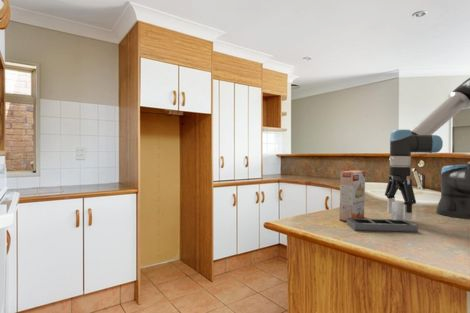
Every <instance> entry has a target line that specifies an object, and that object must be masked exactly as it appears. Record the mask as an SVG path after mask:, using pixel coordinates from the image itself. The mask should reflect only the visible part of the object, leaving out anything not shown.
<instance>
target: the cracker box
mask: <svg viewBox="0 0 470 313" xmlns="http://www.w3.org/2000/svg"><path fill="white" fill-rule="evenodd" d="M339 179H340V182H339V219H338V220H340V221H343V222H347V218H364V217H365V200H366V197H365V196H366V193H365V191H366V171H365V170H345V171H340V178H339Z"/></svg>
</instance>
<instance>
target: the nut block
mask: <svg viewBox="0 0 470 313" xmlns="http://www.w3.org/2000/svg"><path fill="white" fill-rule="evenodd" d="M404 202H405V201H401V200H400V201H399V200H398V201H397V200H396V201H392V213H391V219H404V204H403V203H404Z"/></svg>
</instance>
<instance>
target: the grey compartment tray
mask: <svg viewBox="0 0 470 313" xmlns="http://www.w3.org/2000/svg"><path fill="white" fill-rule="evenodd" d="M346 225H347V226H349V227H350V228H351V229H352V230H353V231H356V232H387V233H388V232H390V233H392V232H393V233H394V232H395V233H418V232H419V225H418V224H415V223H413V222H412V221H407V220H405V219H392V218H364V217H363V218H347V221H346Z"/></svg>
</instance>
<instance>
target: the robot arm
mask: <svg viewBox="0 0 470 313" xmlns="http://www.w3.org/2000/svg"><path fill="white" fill-rule="evenodd" d="M469 107H470V77H469V78H467V79H466V80H464V81H463V82H461V84H459V86H457V87H456V88H455V89H454V90H453V91H450V93H449V94H448V97H447V99H445V100H444V101H443V102H442V103H440V104H439V105H438V106H437V107H436V108H435V109H434V110H432V112H430V113H429V114H428V115H427V116H426V117H424V118H423V119H422V120H421V121H420V122H419V123H417V125H415V126H413V128H411V129H394V130H391V132H390V136H389V159H388V161H389V176H388V182H387V185H386V188H385V193H384V196H385V197H386V199H387V205H386V206H387V211H386V212H387V214H392V201H395V200H396V197H395V196H396V194H397V192H398V190H399V191H400V193H401V195H402V198H403V202H404V203H403V204H404V219H405V220H407V221H409V222H412V219H413V217H412V216H413V210H412V209H413V205H415V204H417V200H416V197H415V193H414V188H413V180H412V178H407V177H410V176H411V168H410V166H411V165H412V164H411V162H412V161H411V160H412V159H411V158H412V154H413V153H414V154H415V153H416V154H417V153H419V154H436V153H440V151H442V149H443V145H444V143H443V139H442V137H441V136H440V135H436V134H435V132H437V131H438V130H440V128H441V127H443V126H444V125H445V124H447V123H448V122H449V121H450V120H451V119H452V118H454V117H455V116H456V115H457V114H458V113H459V112H460V111H463V109H467V108H469ZM440 175H441V176H440V179H441V180H440V184H441V186H440V187H441V188H440V190H441V191H440V194H441V195H440V199H439V202H438V204H437V206H436V213H437V214H438V215H441V216H446V217H447V216H448V217H454V218H460V219H470V161H468V162H467V164H454V165H453V164H452V165H444V166H442V168H441V173H440Z"/></svg>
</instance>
